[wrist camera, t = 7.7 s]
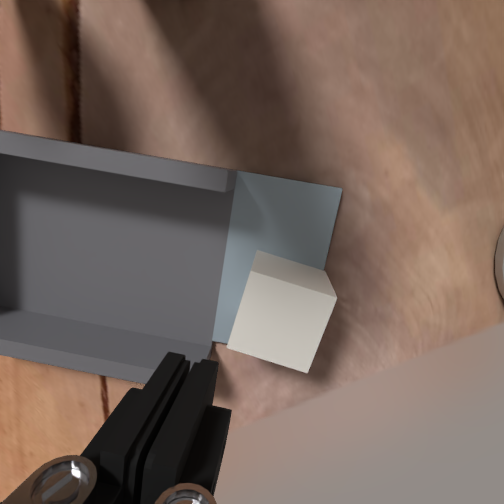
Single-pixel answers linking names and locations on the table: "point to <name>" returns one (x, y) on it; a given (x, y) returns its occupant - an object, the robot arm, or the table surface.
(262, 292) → the cream block
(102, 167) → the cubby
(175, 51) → the table surface
